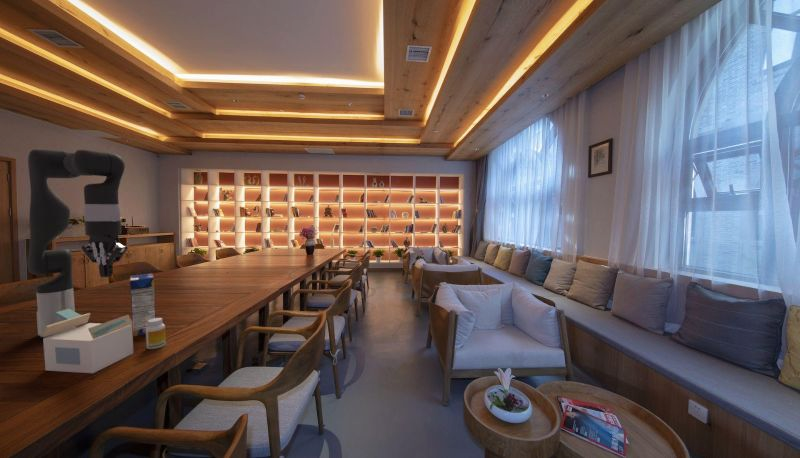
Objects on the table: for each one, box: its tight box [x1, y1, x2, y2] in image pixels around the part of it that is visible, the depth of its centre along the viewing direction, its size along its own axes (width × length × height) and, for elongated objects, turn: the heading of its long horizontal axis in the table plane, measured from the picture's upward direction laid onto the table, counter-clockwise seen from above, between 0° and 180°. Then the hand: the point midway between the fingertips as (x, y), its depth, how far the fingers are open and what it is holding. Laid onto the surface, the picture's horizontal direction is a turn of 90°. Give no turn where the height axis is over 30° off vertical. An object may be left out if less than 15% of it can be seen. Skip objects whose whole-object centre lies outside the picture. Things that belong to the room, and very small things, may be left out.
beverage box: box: [129, 273, 157, 337], centre depth 116 cm, size 7×11×22 cm, turn 43°
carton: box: [42, 322, 135, 374], centre depth 92 cm, size 16×12×10 cm
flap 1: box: [42, 309, 91, 338], centre depth 92 cm, size 4×11×8 cm
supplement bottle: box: [145, 317, 167, 350], centre depth 102 cm, size 5×5×10 cm
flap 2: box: [88, 314, 133, 339], centre depth 90 cm, size 4×11×8 cm
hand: (106, 276), depth 86 cm, fingers closed
